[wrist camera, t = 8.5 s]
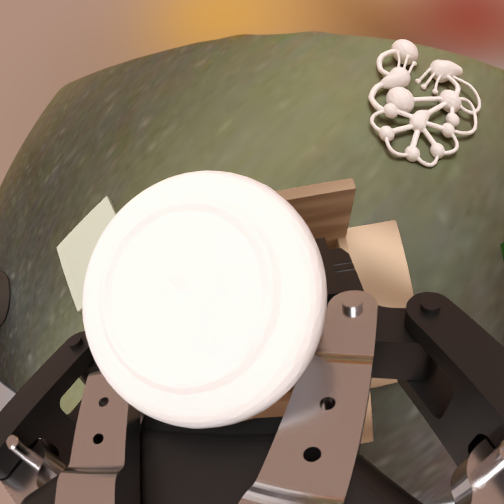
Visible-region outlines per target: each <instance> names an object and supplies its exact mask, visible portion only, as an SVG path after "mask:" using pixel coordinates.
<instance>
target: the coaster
mask: <svg viewBox="0 0 504 504" xmlns="http://www.w3.org/2000/svg"><path fill="white" fill-rule="evenodd" d="M116 214H117V212H116V210H115V208H114V206H113V204H112V202H111V199H110V198H109V197H108V196H106V197H105V198H104V199H103V200H102V201H101V202H100V203H99V204H98V205H97V206H96V207H95V208H94V209H93V210H92V211H91V212H90V213H89V214H88V215H87V216H86V217H85V218H84V219H83V220H82V221H81V222H80V223H79V224H78V225H77V226H76V227H75V228H74V229H73V230H72V231H71V232H70V233H69V234H68V236H67V237H66V238H65V239H64V240H63V241H62V242H61V243H60V244H59V245H58V246H57V251H58V254H59V258H60V261H61V264H62V267H63V271H64V274H65V277H66V280H67V283H68V286H69V289H70V292H71V295H72V297H73V300H74V303H75V306H76V308H77V311H78V312H82V311H83V310H82V299H83V287H84V281H85V275H86V271H87V268H88V264H89V261H90V258H91V256H92V253H93V251H94V249H95V246H96V244H97V242H98V240H99V238H100V236H101V235H102V233H103V231H104V230H105V228H106V227H107V226H108V224H109V223H110V221H111V220H112V219H113V218H114V217H115V215H116Z"/></svg>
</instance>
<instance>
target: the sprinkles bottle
mask: <svg viewBox="0 0 504 504" xmlns="http://www.w3.org/2000/svg"><path fill="white" fill-rule="evenodd" d="M82 310H83V323H84V328H85V333H86V338H87V341H88V344H89V347H90V351H91V353H92V355H93V357H94V360H95V362H96V364H97V366H98V367H99V369H100V371H101V373H102V374H103V376H104V377H105V379H106V380H107V382H108V383H109V384H110V385H111V387H112V388H113V389H114V390H115V391H116V392H117V393H118V394H119V395H120V396H121V397H122V398H123V399H124V400H125V401H126V402H128V403H129V404H130V405H132V406H133V407H134V408H136V409H137V410H139V411H140V412H142V413H144V414H146V415H148V416H150V417H152V418H154V419H156V420H159V421H161V422H164V423H168V424H171V425H174V426H179V427H185V428H191V429H204V428H215V427H222V426H227V425H231V424H236V423H238V422H241V421H244V420H246V419H248V418H251V417H253V416H254V415H256V414H258V413H260V412H262V411H264V410H266V409H267V408H269V407H270V406H271V405H273V404H274V403H275V402H277V401H278V400H279V399H280V398H281V397H282V396H283V395H285V394H286V393H287V392H288V391H289V390H290V389H291V388H292V387H293V386H294V385H295V383H296V382H297V381H298V380H299V378H300V377H301V375H302V374H303V373H304V371H305V370H306V368H307V367H308V365H309V364H310V362H311V360H312V358H313V356H314V354H315V352H316V350H317V347H318V345H319V342H320V339H321V336H322V333H323V329H324V324H325V318H326V311H327V282H326V275H325V269H324V265H323V261H322V257H321V253H320V251H319V248H318V246H317V243H316V241H315V239H314V237H313V235H312V233H311V231H310V229H309V227H308V226H307V224H306V223H305V221H304V220H303V218H302V217H301V216H300V215H299V213H298V212H297V211H296V210H295V209H294V207H293V206H292V205H291V204H289V203H288V202H287V201H286V200H285V199H284V198H283V197H281V196H280V195H279V194H278V193H276V192H275V191H274V190H273V189H271V188H270V187H268V186H267V185H264V184H262V183H259V182H258V181H256V180H253V179H251V178H249V177H246V176H242V175H238V174H234V173H230V172H222V171H196V172H189V173H184V174H180V175H177V176H173V177H170V178H167V179H165V180H163V181H160V182H158V183H157V184H155V185H153V186H151V187H149V188H147V189H145V190H144V191H142V192H141V193H140V194H138V195H137V196H136V197H134V198H133V199H132V200H131V201H129V202H128V203H127V204H126V205H125V206H124V207H123V208H122V209H121V210H120V211H119V212H118V213H117V214H116V215H115V217H114V218H113V219H112V220H111V221H110V223H109V224H108V226H107V227H106V228H105V230H104V231H103V233H102V235H101V236H100V238H99V240H98V242H97V244H96V246H95V249H94V251H93V253H92V256H91V258H90V261H89V264H88V268H87V271H86V275H85V281H84V287H83V299H82Z"/></svg>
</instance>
